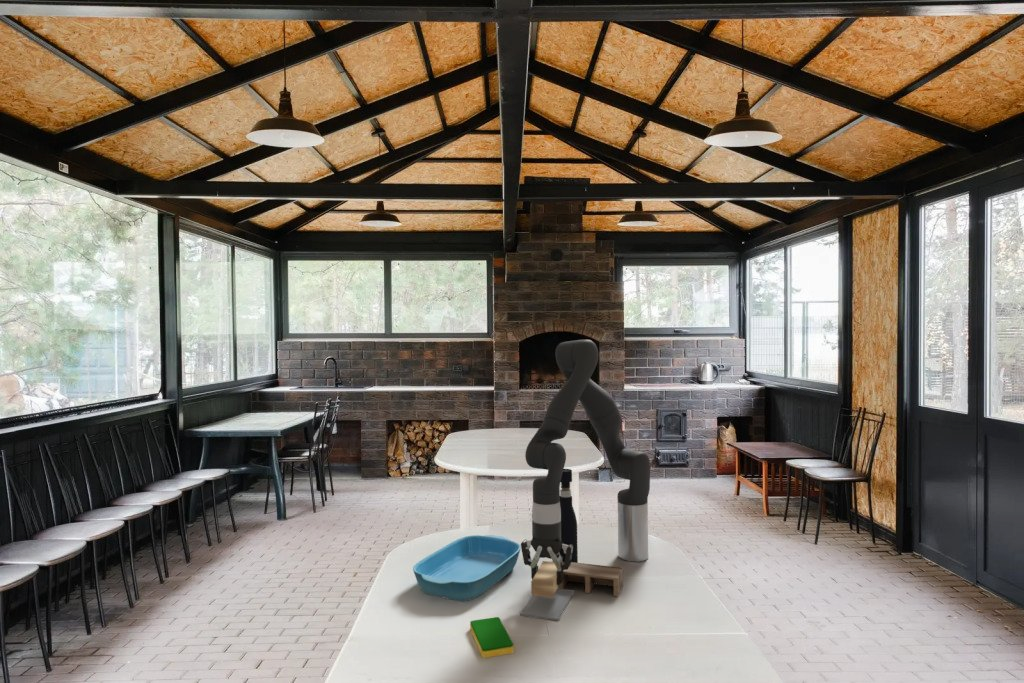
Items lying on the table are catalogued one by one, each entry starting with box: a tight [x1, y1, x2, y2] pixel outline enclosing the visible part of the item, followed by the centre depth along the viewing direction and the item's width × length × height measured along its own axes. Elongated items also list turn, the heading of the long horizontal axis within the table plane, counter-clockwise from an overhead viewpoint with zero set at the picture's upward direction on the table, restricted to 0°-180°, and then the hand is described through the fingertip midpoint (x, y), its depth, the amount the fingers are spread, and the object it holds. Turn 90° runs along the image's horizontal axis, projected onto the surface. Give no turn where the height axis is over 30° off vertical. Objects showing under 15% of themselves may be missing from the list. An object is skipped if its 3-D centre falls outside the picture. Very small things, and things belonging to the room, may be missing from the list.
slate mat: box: [519, 587, 575, 622], centre depth 162 cm, size 17×10×1 cm, turn 161°
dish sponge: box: [469, 616, 514, 659], centre depth 144 cm, size 7×14×2 cm, turn 15°
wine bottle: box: [559, 468, 579, 563], centre depth 183 cm, size 6×6×30 cm
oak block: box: [530, 560, 558, 598], centre depth 162 cm, size 14×6×4 cm, turn 165°
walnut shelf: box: [557, 561, 624, 598], centre depth 171 cm, size 7×17×5 cm, turn 71°
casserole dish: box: [412, 534, 522, 602], centre depth 179 cm, size 37×22×7 cm, turn 152°
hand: (547, 582), depth 162 cm, fingers closed on oak block, 5 cm apart
